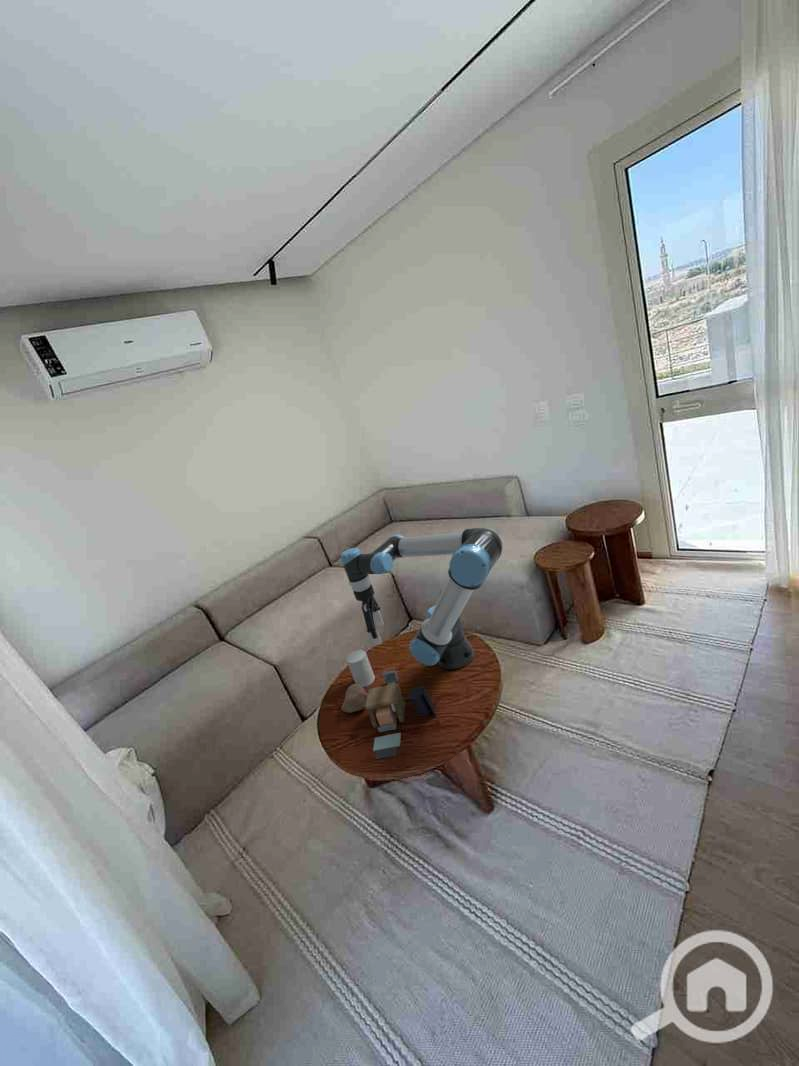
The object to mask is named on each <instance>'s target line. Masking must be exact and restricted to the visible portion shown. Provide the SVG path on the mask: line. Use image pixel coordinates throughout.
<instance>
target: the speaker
mask: <svg viewBox="0 0 799 1066" xmlns="http://www.w3.org/2000/svg"><path fill="white" fill-rule="evenodd" d="M408 698H409V700H410V702H411V704H412V705H413V708H414V709H415V711H416V712H417V714H418V716H419V717H427V716H428V715H429V714H430V713H431V712H432V714H433V716H434V717H437V711H436V706H435V704H434V703H433V700H432V699H431V697H430V695H429V693H428V690H427V689H426V688H425V686H424V684H423V683H421V686H416V687H414V688H412V689H411V690H410V691H409V693H408Z"/></svg>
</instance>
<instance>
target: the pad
mask: <svg viewBox="0 0 799 1066" xmlns="http://www.w3.org/2000/svg"><path fill="white" fill-rule="evenodd" d="M401 736H402V733H401V732H396V733H392V734H387V735H386V734H385V735H382V736H377V737H374V741H373V748H372V750H373V751H372V752H376V751H380V750H385V749H390V748H395V747H397V748H398V747H401Z"/></svg>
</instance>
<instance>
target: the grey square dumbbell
mask: <svg viewBox="0 0 799 1066" xmlns="http://www.w3.org/2000/svg"><path fill="white" fill-rule="evenodd" d="M382 677H383V681H384V684H386V685H390V684H395V683H396V682H398V681H399V677H398V673H397V671H396V669H391V670H386V671H383V672H382ZM391 707H392V709H393V712H394V724H389V725H384V726H380V725H379V724H378V727H377V730H378V733H383V732H388V731H391V730H394V731H395V730H396V729H397V726H398V725H397V722H398V721H397V720H398V716H397V713H396V710H395V707H394V704H391Z"/></svg>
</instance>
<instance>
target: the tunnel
mask: <svg viewBox="0 0 799 1066" xmlns="http://www.w3.org/2000/svg"><path fill="white" fill-rule="evenodd" d="M367 694H368V695H367V701H366V707H365V709H366V712H367V715H368V717H369V720H370V722H371V725H372V727H373V728H378V727H379V722H378V720H377V717H376V713H377V707H381V706H386V705H391V704H394V707H395V710H396V713H397V719H398V721H399V723H403V722H405V713H406V712H405V710H406V703H405V699H404V697H403V694H402V691H401V688H400V685H399V683H398V682H395V684H390V685H388V684H386V685H381V686H376V687H373V688H369V689H368V690H367Z"/></svg>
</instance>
